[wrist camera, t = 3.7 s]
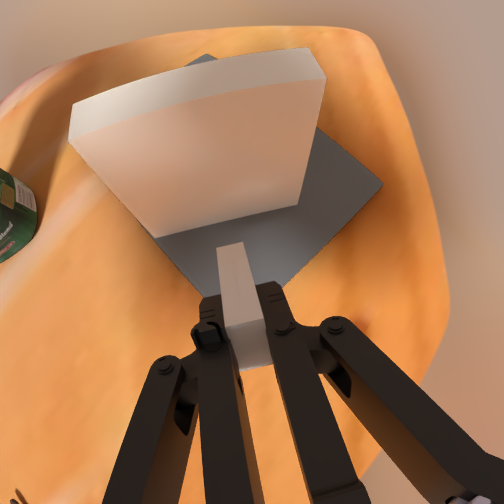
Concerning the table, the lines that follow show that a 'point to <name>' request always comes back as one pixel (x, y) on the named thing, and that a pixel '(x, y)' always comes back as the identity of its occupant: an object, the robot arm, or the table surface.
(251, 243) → the mat
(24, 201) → the coffee jar
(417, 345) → the table surface
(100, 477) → the table surface
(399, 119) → the table surface
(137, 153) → the tile
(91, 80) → the table surface
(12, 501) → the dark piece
